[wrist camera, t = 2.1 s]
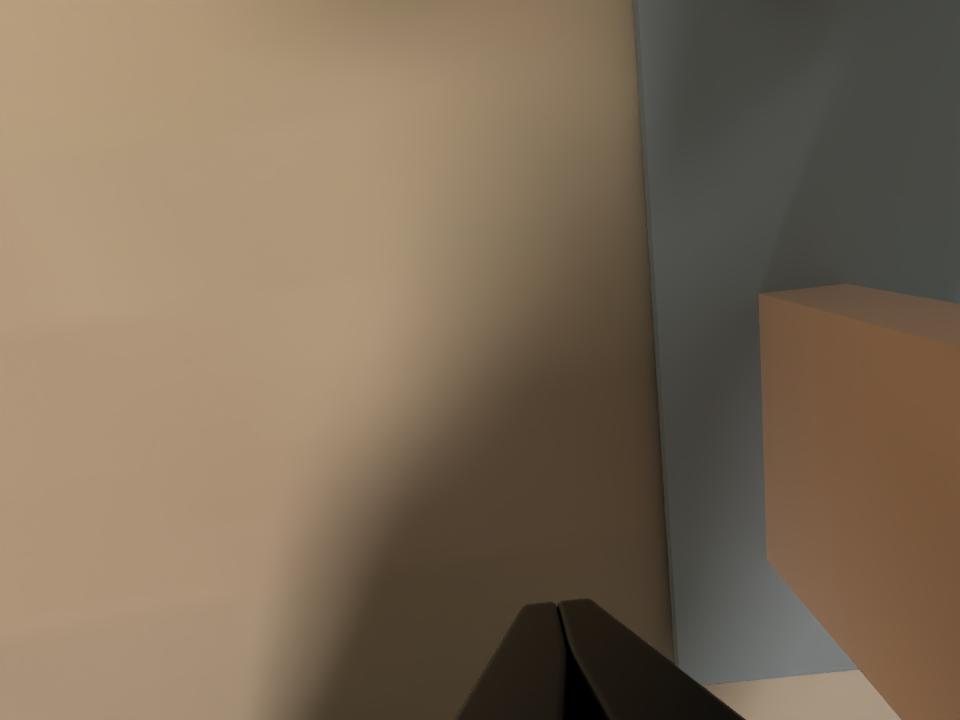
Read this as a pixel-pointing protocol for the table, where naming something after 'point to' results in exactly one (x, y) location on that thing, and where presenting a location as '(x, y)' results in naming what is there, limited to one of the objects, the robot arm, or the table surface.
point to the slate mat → (776, 259)
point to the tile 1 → (868, 480)
